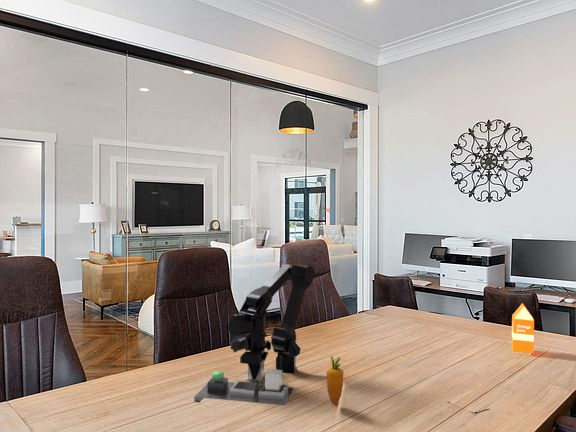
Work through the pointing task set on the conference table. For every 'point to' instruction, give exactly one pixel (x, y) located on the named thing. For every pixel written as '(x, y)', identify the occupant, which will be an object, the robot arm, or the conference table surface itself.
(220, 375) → the button
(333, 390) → the carrot
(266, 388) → the block
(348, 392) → the conference table surface
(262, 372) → the aluminium block
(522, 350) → the orange juice
